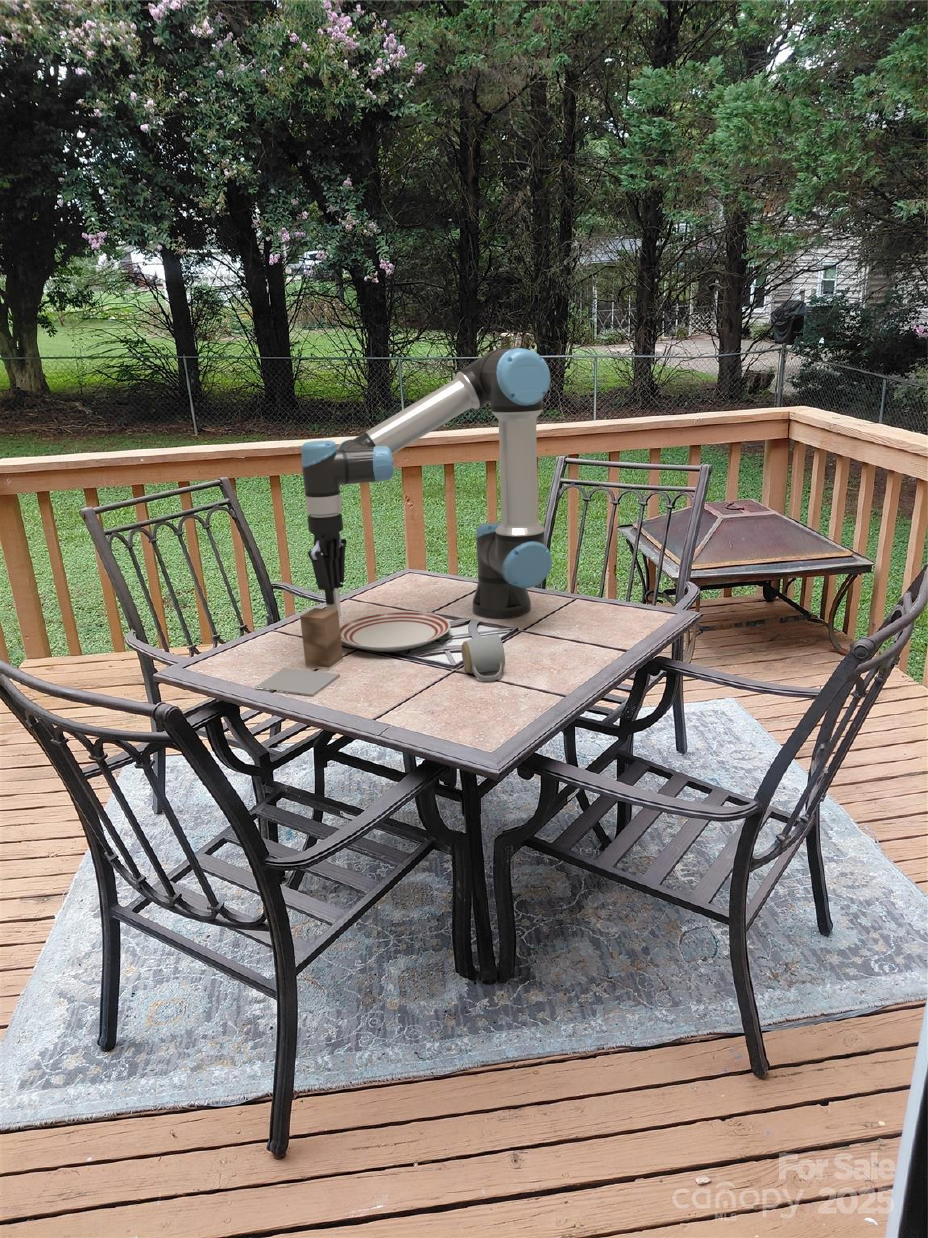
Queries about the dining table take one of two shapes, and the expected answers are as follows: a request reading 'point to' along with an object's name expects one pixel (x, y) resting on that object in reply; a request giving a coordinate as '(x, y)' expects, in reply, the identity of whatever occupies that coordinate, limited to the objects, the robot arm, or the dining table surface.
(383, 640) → the dinner plate
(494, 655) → the ceramic mug
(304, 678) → the grey mat
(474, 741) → the dining table surface
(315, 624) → the walnut block
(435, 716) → the dining table surface
